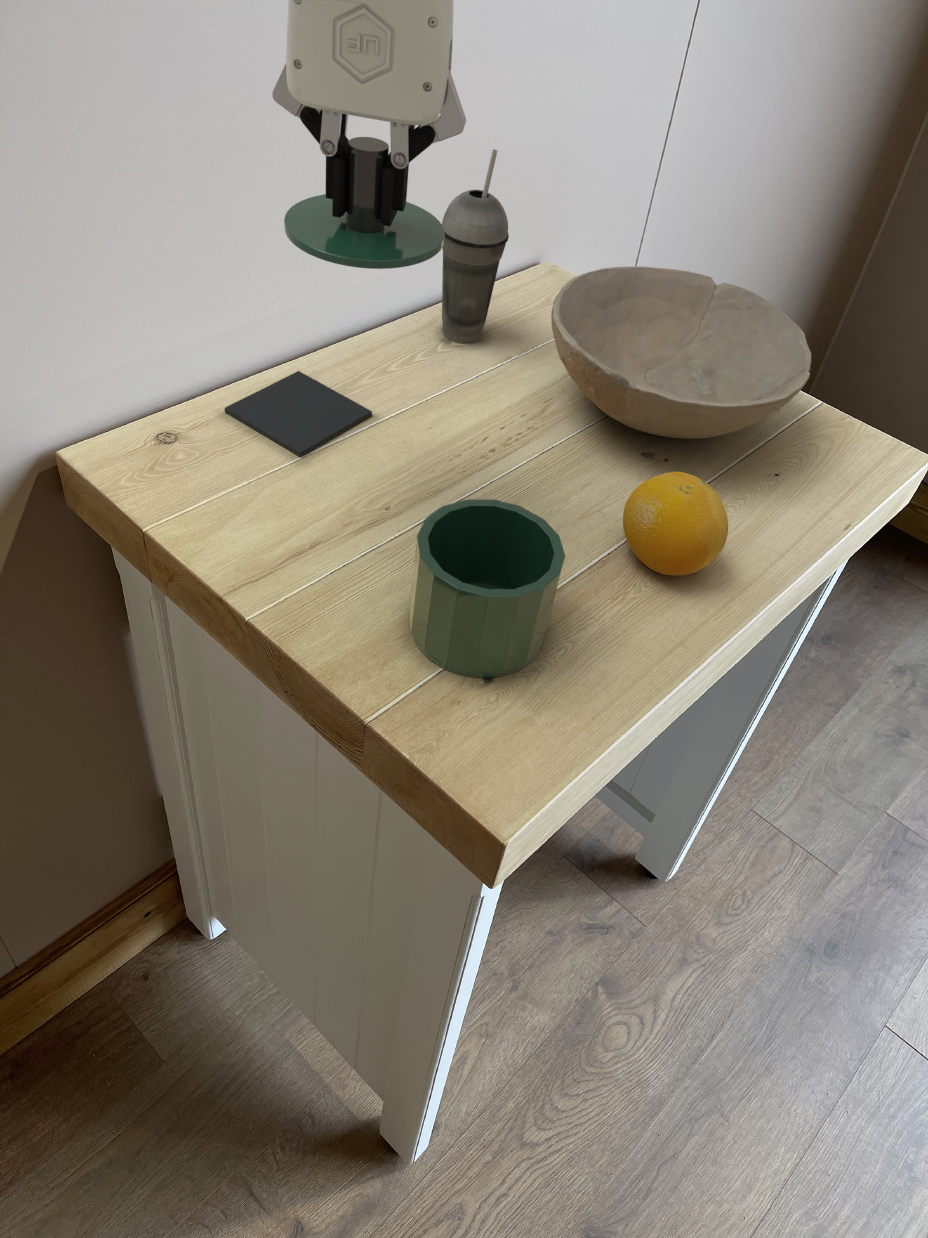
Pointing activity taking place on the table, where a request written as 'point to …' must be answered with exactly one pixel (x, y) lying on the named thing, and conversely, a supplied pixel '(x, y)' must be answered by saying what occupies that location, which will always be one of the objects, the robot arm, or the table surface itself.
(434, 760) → the table surface
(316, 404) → the mat
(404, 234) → the lid
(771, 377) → the bowl
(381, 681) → the table surface
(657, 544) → the fruit
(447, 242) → the beverage cup
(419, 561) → the pot
